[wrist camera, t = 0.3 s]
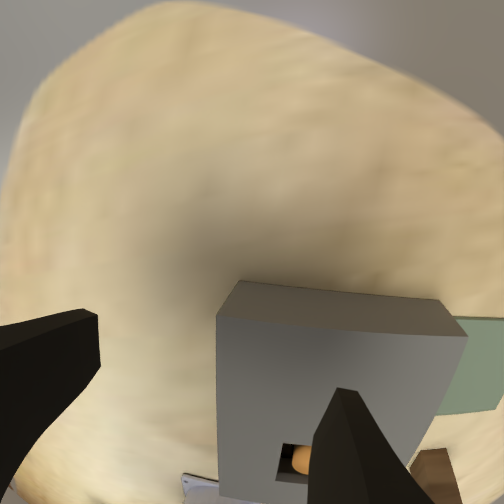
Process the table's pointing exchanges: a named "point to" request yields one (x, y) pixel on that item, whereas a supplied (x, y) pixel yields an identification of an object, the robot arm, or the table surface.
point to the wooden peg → (436, 476)
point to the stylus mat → (477, 368)
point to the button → (301, 458)
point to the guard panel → (321, 376)
